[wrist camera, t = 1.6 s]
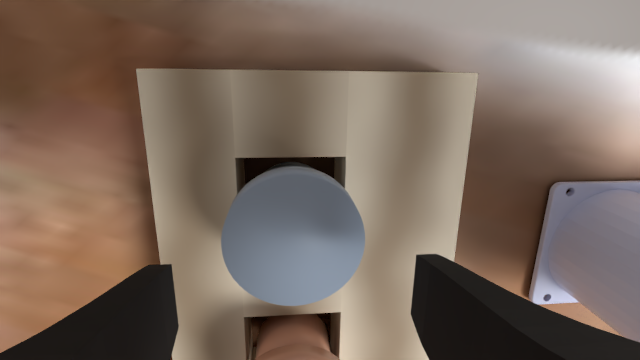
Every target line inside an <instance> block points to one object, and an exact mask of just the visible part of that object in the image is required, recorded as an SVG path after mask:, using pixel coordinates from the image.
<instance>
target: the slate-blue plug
mask: <svg viewBox="0 0 640 360" xmlns="http://www.w3.org/2000/svg"><path fill="white" fill-rule="evenodd" d="M364 247H365V230H364V224H363V221H362V218H361V216H360V214H359V211H358V209H357V207H356V206H355V204H354V202H353V200H352V198H351V197H350V195H349V194H348V192H347V191H346V190H345V189H344V187H343V186H342V185H341V184H340V183H338V182H337V181H336V180H335V179H333V178H332V177H330V176H329V175H327V174H325V173H323V172H321V171H318V170H315V169H314V168H312V167H310V166H308V165H306V164H303V163H299V162H284V163H280V164H277V165H274V166H272V167H270V168H269V169H267V170H266V171H265V172H264V173H262V174H260V175H258V176H257V177H255V178H254V179H252V180H251V181H250V182H248V183H247V184H246V185H245V186H244V187H243V188H242V189H241V190H240V192H239V193H238V194H237V196H236V197H235V199H234V200H233V202H232V204H231V206H230V209H229V211H228V214H227V217H226V220H225V223H224V226H223V229H222V236H221V249H222V255H223V259H224V262H225V265H226V267H227V269H228V271H229V273H230V274H231V276H232V277H233V279H234V280H235V281H236V282H237V283H238V285H239V286H241V287H242V288H243V289H244V290H245V291H246V292H248V293H249V294H251V295H252V296H254V297H256V298H258V299H260V300H263V301H265V302H268V303H272V304H276V305H284V306H298V305H306V304H310V303H314V302H317V301H320V300H322V299H324V298H326V297H329V296H330V295H332V294H333V293H335V292H337V291H338V290H339V289H340V288H342V287H343V286H344V285H345V284H346V283H347V282H348V281H349V280H350V278H351V277H352V276H353V275H354V273H355V271H356V270H357V268H358V266H359V264H360V262H361V259H362V256H363V252H364Z"/></svg>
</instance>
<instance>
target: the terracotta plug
mask: <svg viewBox="0 0 640 360" xmlns="http://www.w3.org/2000/svg"><path fill="white" fill-rule="evenodd" d="M255 360H340V359H339V358H338V357H337V356H335V355H334V354H332V353H331V352H330V346H329V341H328V335H327V330H326V327H325V325H324V323H323V321H322V320H321V319H320V318H319V317H318V316H317V315H315V314H296V315H278V316H270V317H269V318H267V319H266V320H265V321H264V323H263V324H262V325H261V327H260V329H259V332H258V337H257V349H256V359H255Z"/></svg>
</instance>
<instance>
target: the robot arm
mask: <svg viewBox="0 0 640 360" xmlns="http://www.w3.org/2000/svg"><path fill="white" fill-rule="evenodd" d="M569 188H570V190H569V192H568V193H567V194H566V191H567V189H569ZM546 294H547V295H546ZM545 295H546V296H545ZM544 296H545V297H544ZM529 299H530V300H531V301H532V302H530V301H528V300H526V299H524V298H522V297H520V296H518V295H516V294H514V293H512V292H510V291H508V290H506V289H504V288H502V287H500V286H498V285H496V284H494V283H492V282H490V281H488V280H486V279H485V278H483V277H481V276H479V275H477V274H475V273H473V272H472V271H470V270H468V269H466V268H464V267H462V266H461V265H459V264H457V263H455V262H453V261H451V260H449V259H447V258H445V257H443V256H440V255H438V254H420V255H416V263H415V273H414V284H413V294H412V304H411V317H412V320H413V322H414V325H415V328H416V331H417V334H418V336H419V339H420V342H421V344H422V346H423V348H424V350H425V352H426V354H427V356H428V358H429V360H640V180H639V181H585V182H557V183H555V184H554V185H553V186H552V187H551V189H550V193H549V198H548V202H547V207H546V212H545V217H544V222H543V227H542V232H541V237H540V242H539V247H538V252H537V257H536V262H535V267H534V272H533V277H532V282H531V287H530V292H529ZM575 302H580V303H581V304H582V305H584V306H585V307H586V308H587V309H589V310H590V311H591V312H592V313H594V314H595V315H596V316H598V317H599V318H600V319H601V320H603V321H604V322H605V323H606V324H608V325H609V326H610V327H612V328H613V329H614V330H615V331H617V332H618V333H619V334H620V335H622V336H623V337H621V336H618V335H615V334H612V333H609V332H606V331H603V330H600V329H597V328H594V327H592V326H589V325H586V324H583V323H581V322H578V321H576V320H573V319H571V318H568V317H566V316H563V315H561V314H558V313H556V312H553V311H551V310H548V309H546V308H544V307H541V306H539V305H537V304H556V303H575ZM178 328H179V324H178V316H177V307H176V298H175V290H174V281H173V272H172V264H161V265H148V266H146V267H144V268H142V269H141V270H139V271H137V272H136V273H134V274H133V275H131V276H129V277H128V278H126V279H125V280H123V281H122V282H120V283H119V284H117V285H116V286H114V287H113V288H111V289H110V290H108V291H107V292H105V293H104V294H102V295H101V296H99V297H98V298H96V299H95V300H93V301H92V302H90V303H88V304H87V305H85V306H84V307H82V308H80V309H79V310H77V311H75V312H74V313H72V314H70V315H69V316H67V317H65V318H64V319H62V320H60V321H59V322H57V323H55V324H54V325H52V326H51V327H49V328H47V329H45V330H43V331H42V332H40V333H38V334H36V335H34V336H33V337H31V338H29V339H27V340H25V341H23V342H21V343H19V344H17V345H15V346H13V347H11V348H9V349H8V350H6V351H4V352H2V353H0V360H170V358H171V355H172V351H173V347H174V344H175V340H176V336H177V332H178Z"/></svg>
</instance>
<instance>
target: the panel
mask: <svg viewBox="0 0 640 360" xmlns="http://www.w3.org/2000/svg"><path fill="white" fill-rule="evenodd" d="M136 73H137V81H138V89H139V97H140V105H141V113H142V121H143V129H144V137H145V145H146V153H147V161H148V169H149V177H150V185H151V193H152V201H153V209H154V217H155V225H156V233H157V241H158V249H159V257H160V265H161V264H172V272H173V281H174V290H175V298H176V307H177V316H178V324H179V328H178V332H177V336H176V340H175V344H174V347H173V351H172V360H255V359H256V349H257V347H253V339H252V318H251V317H259V316H278V315H296V314H315V313H331V329H330V342H329V346H330V352H331V353H332V354H334V355H335V356H337V357H338V358H339V359H340V360H429V358H428V356H427V354H426V352H425V350H424V348H423V346H422V344H421V342H420V339H419V336H418V334H417V331H416V328H415V325H414V322H413V320H412V317H411V304H412V294H413V284H414V273H415V263H416V255H420V254H438V255H440V256H443V257H445V258H447V259H449V260H451V261H453V262H454V257H455V250H456V242H457V234H458V227H459V219H460V211H461V204H462V196H463V188H464V181H465V173H466V165H467V158H468V150H469V142H470V135H471V127H472V119H473V112H474V104H475V96H476V89H477V81H478V73H461V72H398V71H318V70H237V69H136ZM268 157H335V166H334V179H335V180H336V181H337V182H338V183H340V184H341V185H342V186H343V187H344V189H345V190H346V191H347V192H348V194H349V195H350V197H351V198H352V200H353V202H354V204H355V206H356V207H357V209H358V211H359V214H360V216H361V218H362V221H363V224H364V230H365V247H364V252H363V256H362V259H361V262H360V264H359V266H358V268H357V270H356V271H355V273H354V275H353V276H352V277H351V278H350V280H349V281H348V282H347V283H346V284H345V285H344V286H343V287H342V288H340V289H339V290H338V291H337V292H335V293H333V294H332V295H330V296H329V297H326V298H324V299H322V300H320V301H317V302H314V303H310V304H306V305H298V306H284V305H276V304H272V303H268V302H265V301H263V300H260V299H258V298H256V297H254V296H252V295H251V294H249V293H248V292H246V291H245V290H244V289H243V288H242V287H241V286H239V285H238V283H237V282H236V281H235V280H234V279H233V277H232V276H231V274H230V273H229V271H228V269H227V267H226V265H225V262H224V259H223V255H222V249H221V236H222V229H223V226H224V223H225V220H226V217H227V214H228V211H229V209H230V206H231V204H232V202H233V200H234V199H235V197H236V196H237V194H238V193H239V192H240V190H241V189H242V188H243V187H244V186H245V172H244V158H268Z"/></svg>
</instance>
